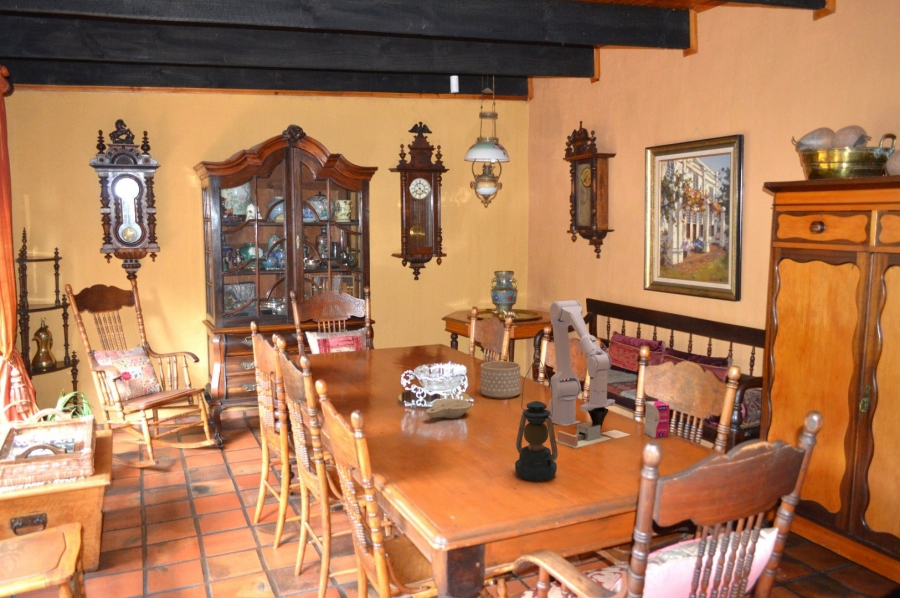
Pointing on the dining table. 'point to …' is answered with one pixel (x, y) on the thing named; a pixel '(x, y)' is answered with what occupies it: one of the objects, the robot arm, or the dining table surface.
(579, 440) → the rail board
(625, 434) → the pad
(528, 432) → the lantern
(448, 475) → the dining table surface
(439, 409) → the oil lamp
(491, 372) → the planter
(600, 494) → the dining table surface
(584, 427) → the clip
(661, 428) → the supplement box
